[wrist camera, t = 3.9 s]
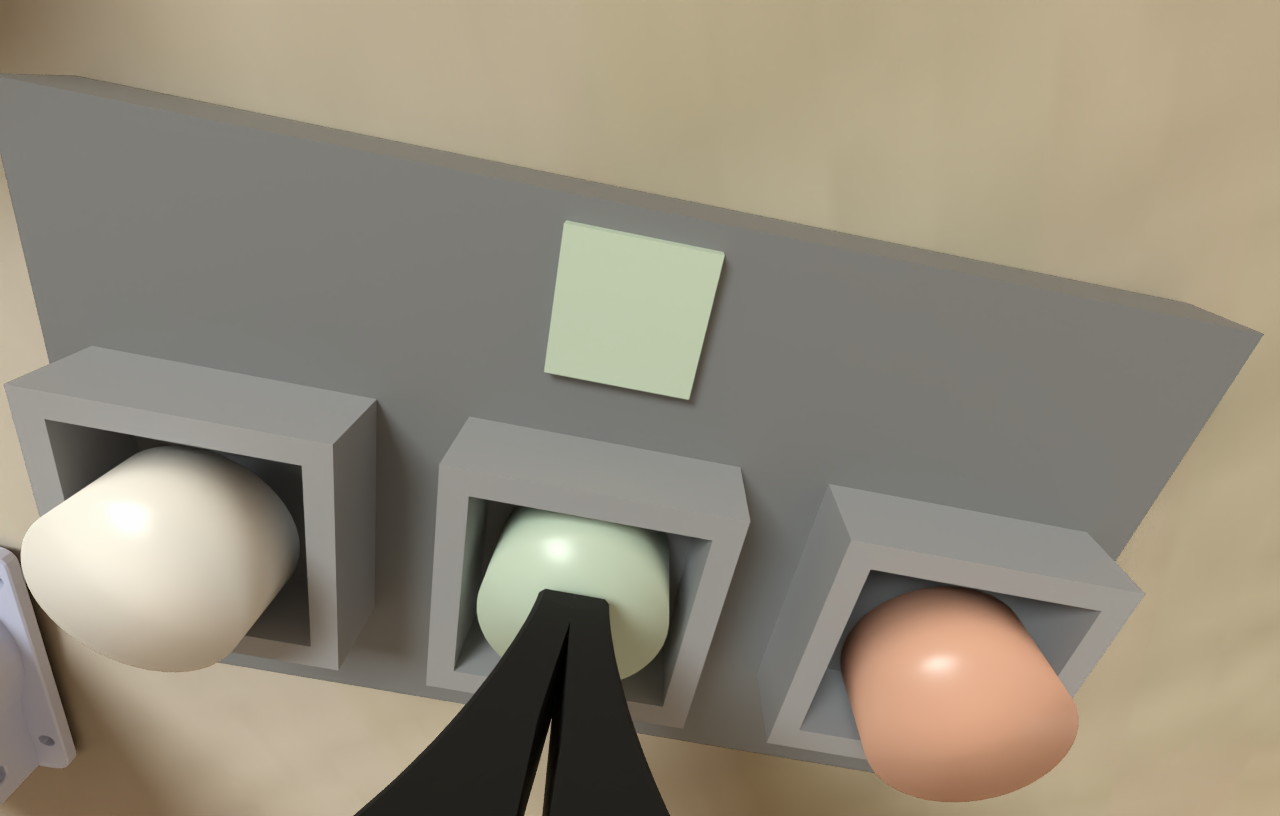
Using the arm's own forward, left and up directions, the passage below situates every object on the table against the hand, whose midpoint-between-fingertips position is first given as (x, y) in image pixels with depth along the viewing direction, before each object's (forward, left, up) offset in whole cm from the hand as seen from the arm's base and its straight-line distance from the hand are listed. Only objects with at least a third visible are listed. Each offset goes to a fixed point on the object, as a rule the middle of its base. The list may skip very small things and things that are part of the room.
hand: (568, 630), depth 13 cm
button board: (+1, 0, -5) cm, 5 cm away
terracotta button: (0, -8, -1) cm, 8 cm away
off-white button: (0, +8, -1) cm, 8 cm away
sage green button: (0, 0, -2) cm, 2 cm away
